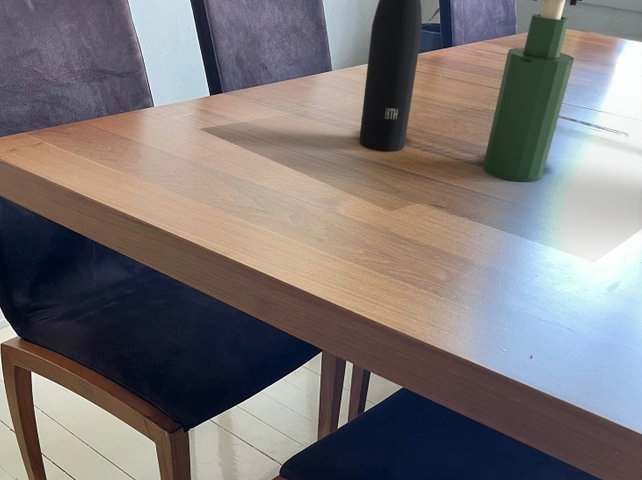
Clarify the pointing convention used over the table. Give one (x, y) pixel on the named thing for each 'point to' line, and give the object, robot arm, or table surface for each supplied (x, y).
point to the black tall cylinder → (390, 74)
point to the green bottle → (529, 103)
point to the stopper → (552, 9)
